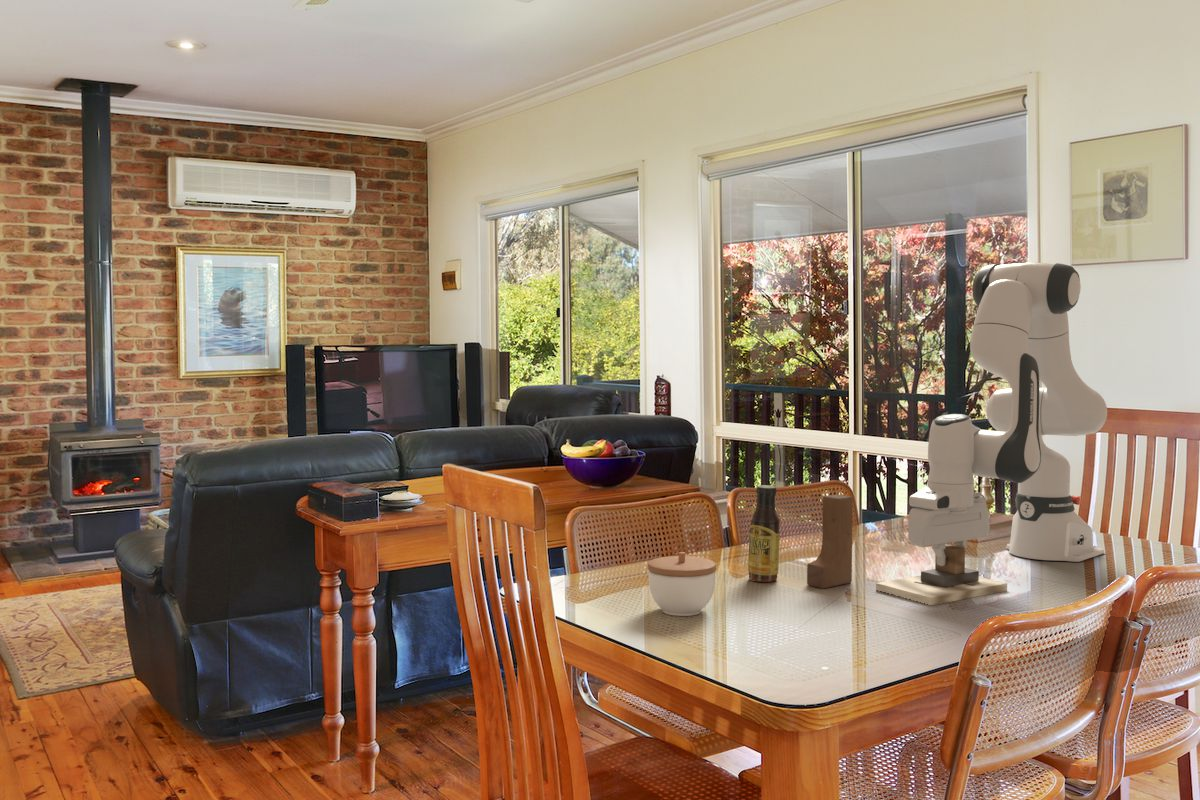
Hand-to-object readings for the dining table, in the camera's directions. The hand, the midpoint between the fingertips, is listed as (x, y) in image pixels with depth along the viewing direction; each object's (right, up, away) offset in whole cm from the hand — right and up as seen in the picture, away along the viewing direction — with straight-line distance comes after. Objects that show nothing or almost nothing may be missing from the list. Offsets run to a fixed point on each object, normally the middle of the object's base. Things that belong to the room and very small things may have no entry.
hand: (949, 563), depth 210 cm
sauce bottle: (-36, -5, +9) cm, 37 cm away
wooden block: (-23, -5, +5) cm, 24 cm away
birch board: (-2, -5, -1) cm, 6 cm away
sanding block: (0, -4, 0) cm, 4 cm away
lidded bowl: (-55, -7, -16) cm, 58 cm away
